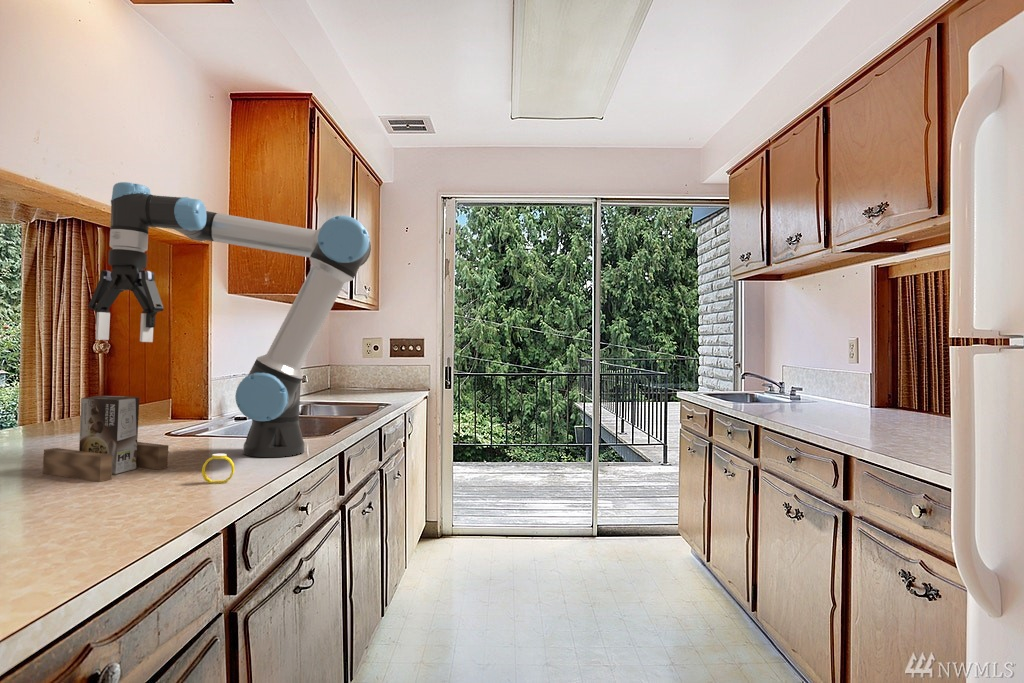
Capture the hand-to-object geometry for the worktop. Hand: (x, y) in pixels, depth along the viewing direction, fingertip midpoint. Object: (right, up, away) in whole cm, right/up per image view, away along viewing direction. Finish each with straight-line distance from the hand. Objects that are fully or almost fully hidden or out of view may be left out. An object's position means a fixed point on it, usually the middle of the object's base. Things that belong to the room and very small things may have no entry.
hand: (123, 341), depth 137 cm
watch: (+30, -30, -15) cm, 45 cm away
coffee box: (+2, -29, -9) cm, 30 cm away
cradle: (+2, -28, -9) cm, 30 cm away
